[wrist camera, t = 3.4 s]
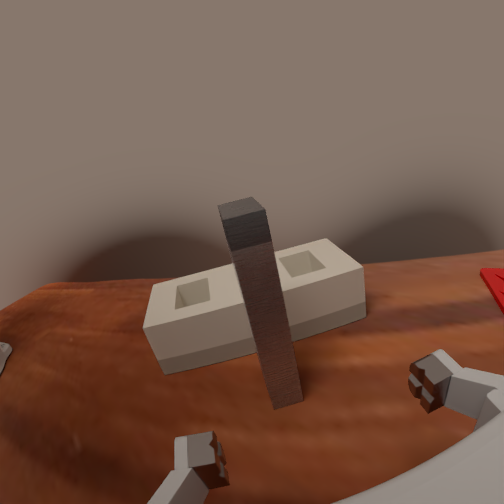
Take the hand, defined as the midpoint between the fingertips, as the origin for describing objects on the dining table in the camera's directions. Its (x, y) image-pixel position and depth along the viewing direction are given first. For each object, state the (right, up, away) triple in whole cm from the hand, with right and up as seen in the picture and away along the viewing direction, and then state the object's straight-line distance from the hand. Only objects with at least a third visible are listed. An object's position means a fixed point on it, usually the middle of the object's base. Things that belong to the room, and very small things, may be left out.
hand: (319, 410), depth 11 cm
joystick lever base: (-2, -2, +25) cm, 26 cm away
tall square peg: (0, -6, +15) cm, 16 cm away
